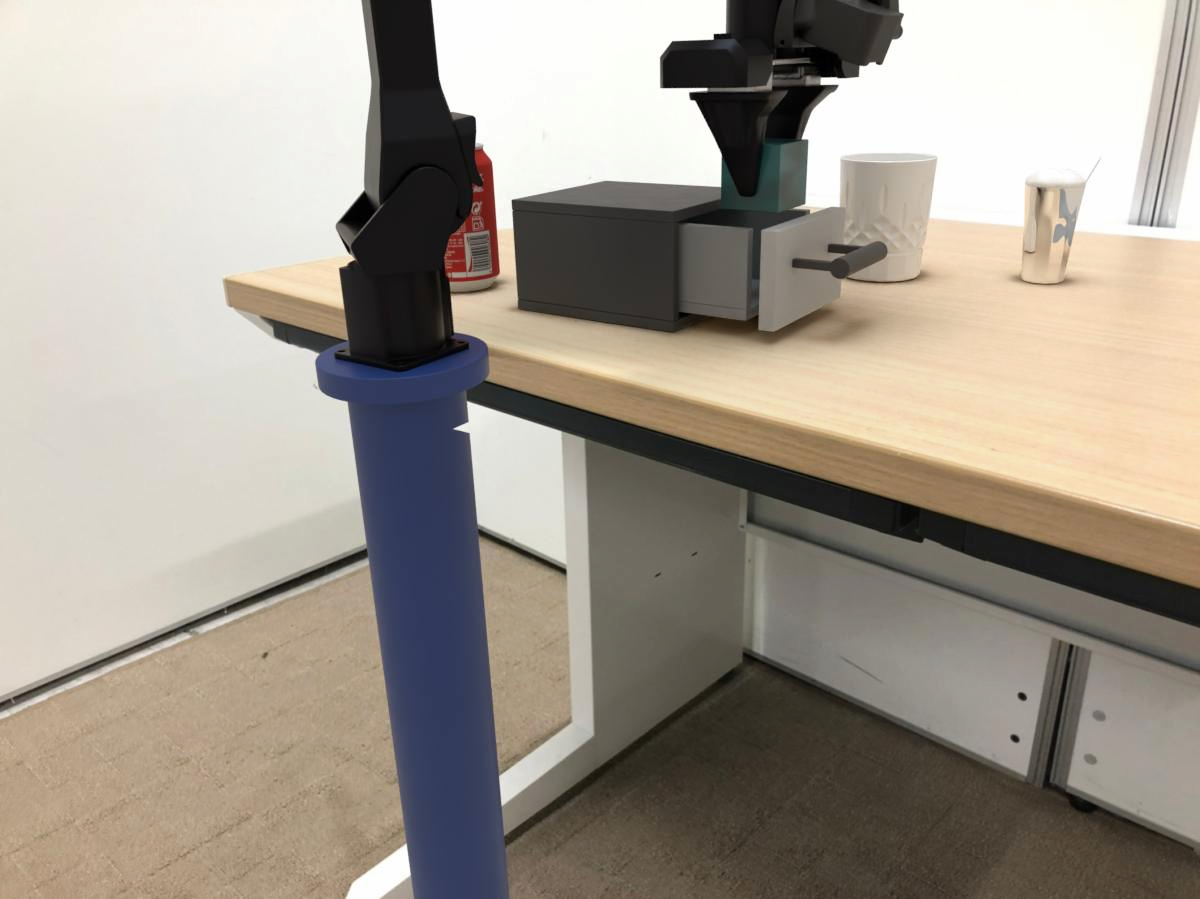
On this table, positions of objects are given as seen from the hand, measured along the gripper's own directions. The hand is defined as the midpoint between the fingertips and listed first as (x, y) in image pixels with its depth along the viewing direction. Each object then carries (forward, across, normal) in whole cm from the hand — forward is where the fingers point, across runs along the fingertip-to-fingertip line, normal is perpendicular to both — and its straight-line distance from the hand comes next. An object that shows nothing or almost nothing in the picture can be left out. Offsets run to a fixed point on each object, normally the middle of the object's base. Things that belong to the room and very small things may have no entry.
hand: (763, 192), depth 70 cm
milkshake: (+9, +23, -15) cm, 29 cm away
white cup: (+9, +19, -2) cm, 21 cm away
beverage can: (+10, -2, +28) cm, 30 cm away
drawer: (+8, 0, +1) cm, 8 cm away
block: (+1, 0, 0) cm, 1 cm away
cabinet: (+9, 0, +11) cm, 14 cm away
